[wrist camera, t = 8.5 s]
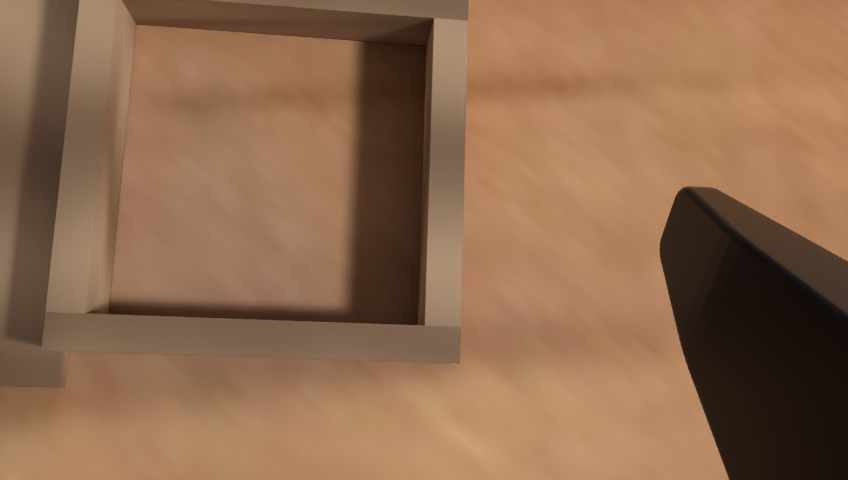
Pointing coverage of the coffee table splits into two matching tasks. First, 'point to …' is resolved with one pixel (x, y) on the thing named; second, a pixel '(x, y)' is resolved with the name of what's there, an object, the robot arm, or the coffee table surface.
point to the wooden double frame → (102, 171)
